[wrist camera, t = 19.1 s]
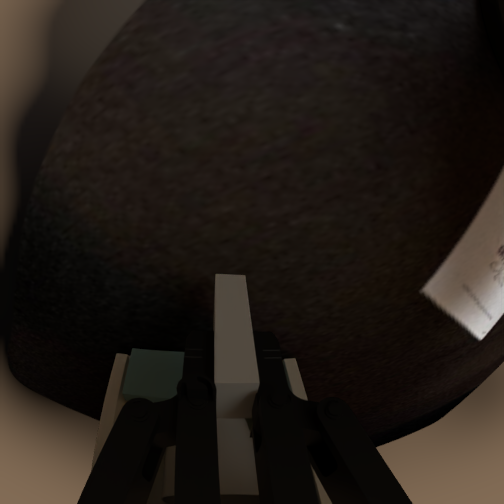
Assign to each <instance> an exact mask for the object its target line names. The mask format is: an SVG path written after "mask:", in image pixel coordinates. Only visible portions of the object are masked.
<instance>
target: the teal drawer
mask: <svg viewBox="0 0 504 504" xmlns="http://www.w3.org/2000/svg"><path fill="white" fill-rule="evenodd" d="M183 362H184V352H174V351H159V350H146V349H135V348H132V352H131V356H130V360H129V364H128V369H127V373H126V377H125V382H124V387H123V392H122V394H123V396H124V399H125V400H126V401H129V400H131V399H133V398H146V399H148V400H150V401H152V402H153V403H154V402H160V401H165V400H168V399H171V398H172V397H174V396H175V395H176V394H177V388H176V387H177V384H178V382H179V381H180V380H181V379H182V373H183ZM245 420H246V422H247V425H248V427H249V430H250V432H251V428H252V425H253V420H252V415H251V418H245Z"/></svg>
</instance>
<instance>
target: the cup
mask: <svg viewBox="0 0 504 504" xmlns="http://www.w3.org/2000/svg"><path fill="white" fill-rule="evenodd" d="M217 442H218V464H219V482H220V498H221V504H260V499H259V491H258V483H257V474H256V466H255V457H254V448H253V439H252V438H250V430H249V427H248V425H247V422H246V420H245V418H238V419H228V418H217ZM175 449H176V446H171V447H167V450H166V454H165V461H164V472H163V484H162V497H161V500H162V501H164V502H166V503H169V504H174V482H175Z"/></svg>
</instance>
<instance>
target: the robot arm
mask: <svg viewBox="0 0 504 504" xmlns="http://www.w3.org/2000/svg"><path fill="white" fill-rule="evenodd" d="M480 2H481V8H482V13H483V18H484V22H485V25H486V29H487V32H488V36H489V39H490V42H491V45H492V48H493V50H494V53H495V56H496V58H497V61H498V63H499V66H500V68H501V70H502V73H503V75H504V0H480ZM176 388H177V394H176V395H175V396H174V397H172V398H171V399H168V400H165V401H160V402H154V403H153V402H152V401H150V400H148V399H146V398H133V399H131V400H129V401H127V402H126V403H125V405H124V406H123V407H122V409H121V411H120V413H119V415H118V417H117V419H116V421H115V423H114V425H113V427H112V429H111V431H110V433H109V435H108V437H107V440H106V442H105V444H104V446H103V448H102V450H101V452H100V454H99V456H98V458H97V461H96V463H95V465H94V467H93V469H92V471H91V474H90V476H89V478H88V480H87V482H86V485H85V487H84V489H83V491H82V494H81V496H80V499H79V501H78V503H77V504H147V501H148V498H149V495H150V492H151V489H152V486H153V484H154V481H155V478H156V475H157V472H158V470H159V467H160V464H161V461H162V459H163V456H164V453H165V450H166V447H171V446H176V449H175V482H174V504H221V498H220V482H219V464H218V442H217V418H228V419H238V418H251V415H252V420H253V425H252V428H251V432H250V438H252V439H253V448H254V457H255V466H256V474H257V483H258V491H259V499H260V504H319V501H318V497H317V492H316V487H315V483H314V478H313V474H312V469H311V466H312V467H313V469H314V471H315V473H316V475H317V477H318V479H319V480H320V482H321V484H322V486H323V488H324V490H325V491H326V493H327V495H328V497H329V499H330V500H331V502H332V504H412V502H411V501H410V499H409V498H408V496H407V494H406V493H405V492H404V490H403V488H402V487H401V485H400V484H399V482H398V481H397V479H396V478H395V476H394V475H393V473H392V472H391V470H390V469H389V467H388V466H387V464H386V463H385V461H384V460H383V458H382V456H381V455H380V453H379V452H378V450H377V449H376V447H375V446H374V444H373V443H372V441H371V440H370V438H369V437H368V435H367V434H366V432H365V430H364V429H363V427H362V426H361V424H360V423H359V421H358V420H357V418H356V417H355V415H354V414H353V412H352V411H351V409H350V408H349V406H348V405H347V404H346V403H345V402H344V401H343V400H341V399H339V398H334V397H330V398H325V399H324V400H322V401H320V403H318V402H313V401H308V400H304V399H301V398H299V397H297V396H295V395H294V394H293V393H292V392H291V390H290V389H289V386H288V383H287V378H286V374H285V369H284V365H283V360H282V356H281V351H280V347H279V342H278V339H277V338H276V337H275V336H274V334H273V333H272V332H253V331H252V324H251V316H250V309H249V301H248V294H247V286H246V278H245V275H226V274H216V277H215V297H214V329H213V331H198V330H191V332H190V333H189V335H188V336H187V338H186V342H185V352H184V362H183V373H182V379H181V380H180V381H179V382H178V384H177V387H176Z"/></svg>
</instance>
